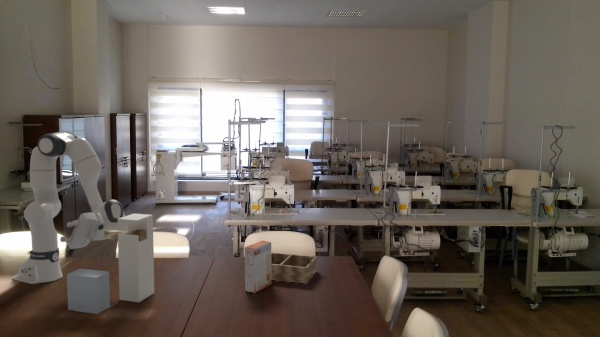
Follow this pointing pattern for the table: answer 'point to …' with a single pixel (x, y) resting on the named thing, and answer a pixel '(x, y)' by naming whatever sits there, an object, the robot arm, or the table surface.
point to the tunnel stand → (136, 259)
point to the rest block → (88, 291)
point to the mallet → (114, 233)
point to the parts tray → (292, 267)
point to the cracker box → (257, 266)
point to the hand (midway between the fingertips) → (64, 232)
